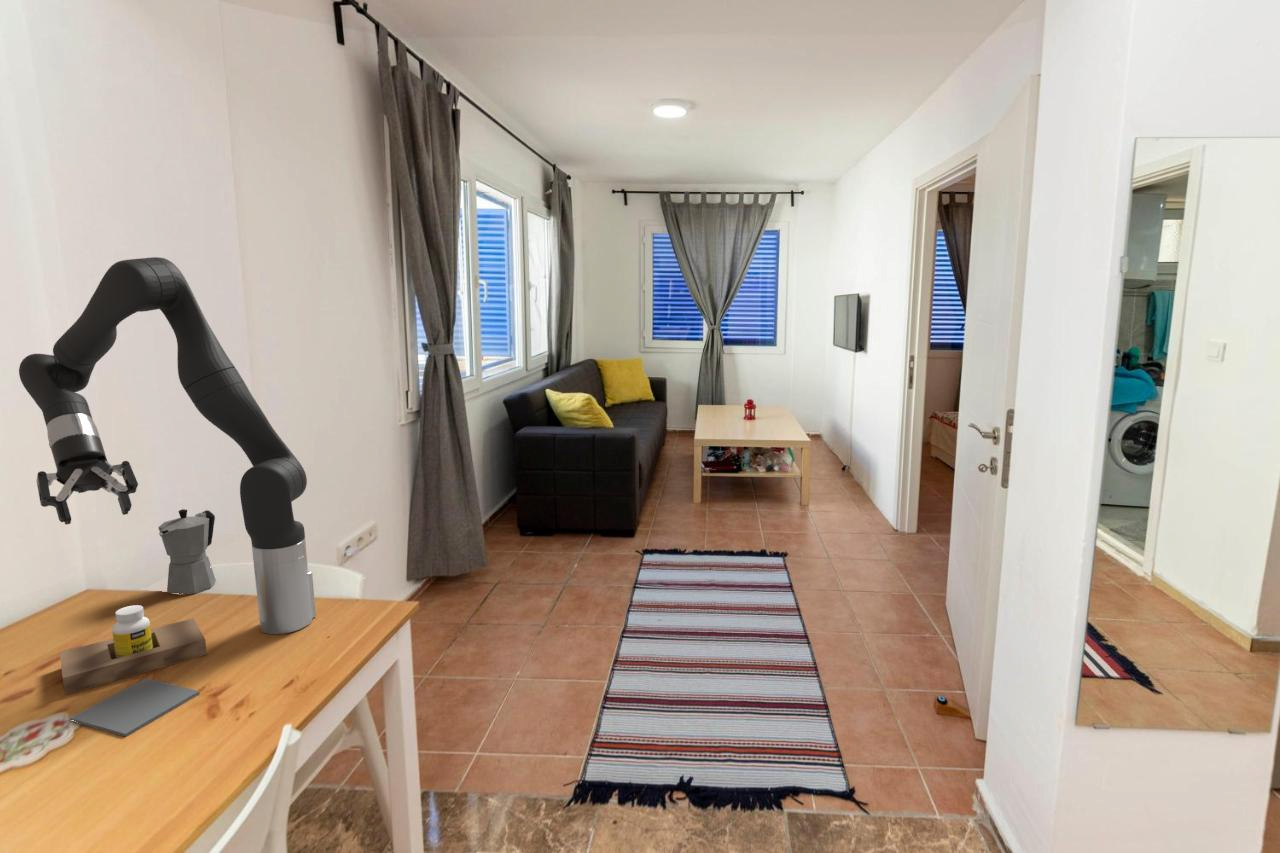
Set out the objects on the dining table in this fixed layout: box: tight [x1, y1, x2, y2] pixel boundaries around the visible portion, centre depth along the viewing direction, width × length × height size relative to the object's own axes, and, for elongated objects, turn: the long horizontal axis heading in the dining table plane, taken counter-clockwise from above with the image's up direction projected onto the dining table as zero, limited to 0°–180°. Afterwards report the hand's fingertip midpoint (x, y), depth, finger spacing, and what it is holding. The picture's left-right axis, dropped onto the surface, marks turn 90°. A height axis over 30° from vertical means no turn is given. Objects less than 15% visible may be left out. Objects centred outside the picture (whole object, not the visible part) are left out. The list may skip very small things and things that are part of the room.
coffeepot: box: [158, 508, 217, 595], centre depth 155 cm, size 15×9×18 cm, turn 174°
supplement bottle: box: [111, 604, 153, 659], centre depth 124 cm, size 5×5×10 cm
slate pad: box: [69, 677, 201, 737], centre depth 111 cm, size 12×12×1 cm
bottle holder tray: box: [59, 617, 208, 696], centre depth 124 cm, size 20×11×3 cm, turn 131°
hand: (98, 517), depth 128 cm, fingers open, 8 cm apart
